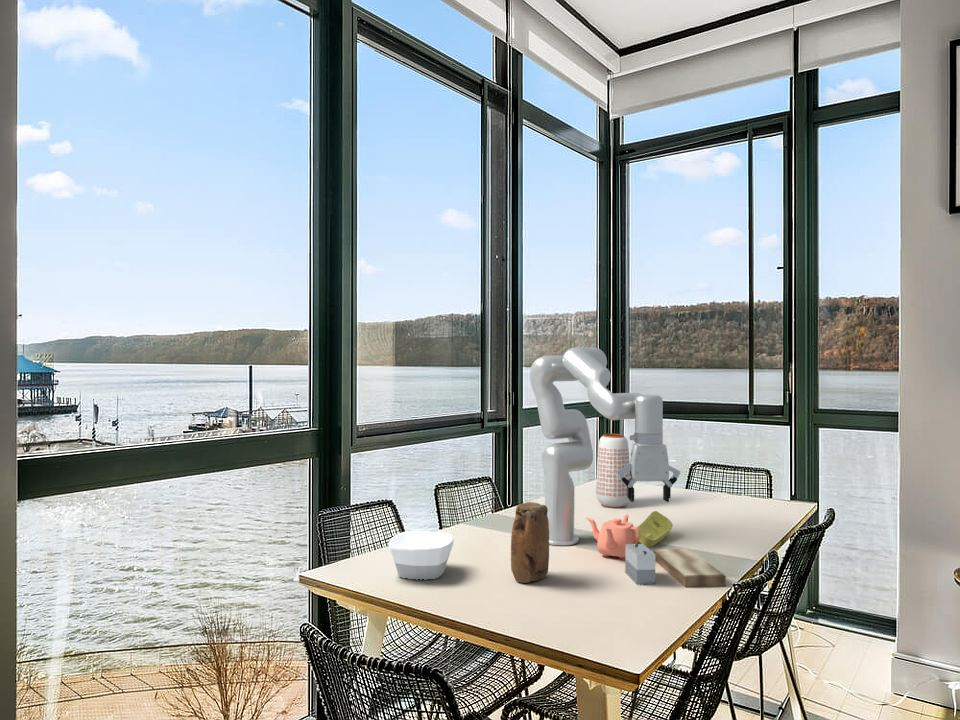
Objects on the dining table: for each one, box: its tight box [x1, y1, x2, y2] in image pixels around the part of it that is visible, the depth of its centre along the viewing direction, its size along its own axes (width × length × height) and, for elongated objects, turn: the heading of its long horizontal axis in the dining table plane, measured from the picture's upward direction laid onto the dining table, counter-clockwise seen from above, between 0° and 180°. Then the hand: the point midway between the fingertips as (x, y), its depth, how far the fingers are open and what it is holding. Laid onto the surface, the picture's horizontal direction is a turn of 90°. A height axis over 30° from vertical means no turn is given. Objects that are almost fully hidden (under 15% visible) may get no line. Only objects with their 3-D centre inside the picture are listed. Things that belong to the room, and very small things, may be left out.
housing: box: [624, 543, 656, 586], centre depth 189 cm, size 5×10×8 cm, turn 6°
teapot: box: [585, 514, 641, 561], centre depth 210 cm, size 14×14×11 cm
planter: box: [595, 433, 630, 509], centre depth 276 cm, size 13×13×28 cm
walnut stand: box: [652, 548, 727, 588], centre depth 195 cm, size 11×24×3 cm, turn 6°
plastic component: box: [635, 510, 674, 548], centre depth 229 cm, size 20×7×10 cm
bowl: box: [388, 531, 455, 581], centre depth 192 cm, size 18×18×9 cm
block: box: [510, 501, 550, 584], centre depth 188 cm, size 11×8×20 cm
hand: (648, 501), depth 193 cm, fingers open, 9 cm apart
